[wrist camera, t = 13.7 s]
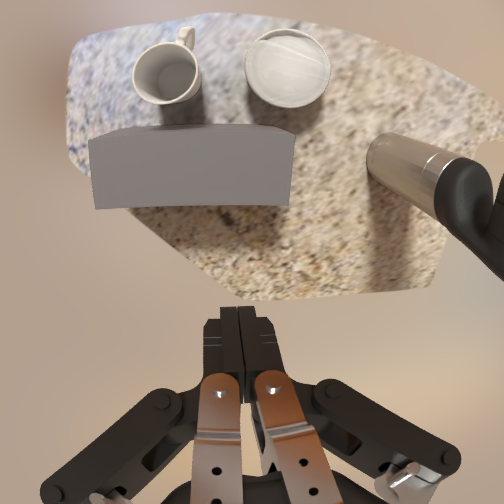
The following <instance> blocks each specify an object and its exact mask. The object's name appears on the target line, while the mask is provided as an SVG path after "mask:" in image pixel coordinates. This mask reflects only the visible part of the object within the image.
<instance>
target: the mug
mask: <svg viewBox="0 0 504 504" xmlns="http://www.w3.org/2000/svg"><path fill="white" fill-rule="evenodd" d="M194 43H195V30H194V28H193V27H191V26H188V27H185V28H181V29H180V31H179V34H178V38H177V40H176V41H175V43H173V42H166V43H160V44H157V45H154V46H152V47H151V48H149V49H147V50H146V51H145V52H144V53H143V54H142V55H141V56H140V57H139V58H138V60H137V61H136V63H135V65H134V68H133V73H132V82H133V86H134V88H135V90H136V92H137V94H138V95H139V96H140V97H141V98H142V99H144V100H145V101H147V102H149V103H152V104H158V105H163V104H171V103H180V102H184V101H186V100H188V99H190V98H192V97H193V96H194V95H195V94H196V93H197V91H198V90H199V88H200V85H201V74H200V70H199V66H198V63H197V60H196V58H195V56H194V54H193V53H192V51H193V49H194Z"/></svg>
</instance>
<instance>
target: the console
mask: <svg viewBox="0 0 504 504" xmlns="http://www.w3.org/2000/svg"><path fill="white" fill-rule="evenodd" d="M294 145H295V134H292V133H290V132H288V131H285V130H283V129H280V128H278V127H275V126H270V125H250V124H180V125H160V126H146V127H134V128H124V129H119V130H116V131H113V132H110V133H107V134H104V135H101V136H99V137H96V138H93V139H90V140H88V147H89V160H90V170H91V180H92V188H93V196H94V203H95V209H112V208H132V207H157V206H195V205H278V206H289V197H290V187H291V177H292V167H293V156H294Z"/></svg>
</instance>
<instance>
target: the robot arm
mask: <svg viewBox="0 0 504 504" xmlns="http://www.w3.org/2000/svg"><path fill="white" fill-rule="evenodd" d="M367 167H368V170H369V173H370V175H371V176H372V177H373V179H374V180H376V181H377V182H378V183H380V184H382V185H383V186H385V187H387V188H388V189H390V190H391V191H393V192H394V193H396V194H398V195H399V196H401V197H402V198H404V199H406V200H407V201H409V202H410V203H412V204H413V205H415V206H416V207H418V208H419V209H421V210H422V211H424V212H425V213H427V214H428V215H429V216H431V217H432V218H434V219H435V220H437V221H438V222H439V223H441V224H442V225H443V226H445V227H446V228H447V229H448V231H449V232H450V233H451V234H452V235H453V236H455V237H456V238H457V239H458V240H459V241H461V242H462V243H463V244H464V245H465V246H466V247H468V248H469V249H470V250H471V251H472V252H473V253H474V254H475V255H476V256H477V257H478V258H479V259H480V260H481V261H482V262H483V263H484V264H485V265H486V266H487V267H488V268H489V269H490V270H491V271H492V272H493V273H495V275H496V276H498V277H499V278H500V279H501V280H502V281H504V174H503V176H502V179H501V182H500V185H499V189H498V192H497V196H496V199H495V203H494V205H493V187H492V182H491V178H490V176H489V174H488V172H487V170H486V169H485V168H484V167H483V166H482V165H481V164H479V163H477V162H475V161H473V160H471V159H468V158H466V157H463V156H461V155H458V154H456V153H453V152H450V151H447V150H445V149H442V148H439V147H436V146H433V145H430V144H427V143H424V142H421V141H418V140H415V139H412V138H408V137H405V136H402V135H398V134H395V133H384V134H382V135H380V136H378V137H377V138H376V139H375V140H374V141H373V142H372V143H371V145H370V147H369V150H368V153H367ZM203 338H204V339H203V341H204V343H203V369H204V370H203V372H204V373H203V378H202V380H201V382H200V383H199V384H198V385H197V386H196V387H195V388H194V389H191V390H188V391H185V392H181V393H178V394H177V393H175V392H174V391H172V390H170V389H166V388H165V389H164V388H160V389H156V390H153V391H151V392H150V393H148V394H147V395H146V396H145V397H144V398H143V399H142V400H141V401H139V402H138V403H137V404H136V405H135V406H134V407H133V408H132V409H130V410H129V411H128V412H127V413H126V414H125V415H123V416H122V417H121V418H120V419H119V420H118V421H117V422H115V423H114V424H113V425H112V426H111V427H110V428H108V429H107V430H106V431H105V432H104V433H103V434H101V435H100V436H99V437H98V438H97V439H95V440H94V441H93V442H92V443H91V444H90V445H88V446H87V447H86V448H85V449H83V451H81V452H80V453H79V454H77V455H76V456H75V457H74V458H73V459H71V460H70V461H69V462H68V463H67V464H65V465H64V466H63V467H61V468H60V469H59V470H58V471H56V472H55V473H54V474H53V475H52V476H50V477H49V478H48V479H46V480H45V481H44V482H43V483H42V485H41V488H40V496H41V499H42V502H43V503H44V504H133V503H132V502H131V501H130V500H131V499H132V498H133V497H134V496H135V495H136V494H137V493H139V492H140V491H141V490H142V489H143V488H144V487H145V486H146V485H147V484H148V483H149V482H150V481H151V480H152V479H153V478H154V477H155V476H156V475H157V474H158V473H159V472H161V471H162V470H163V469H164V467H166V465H168V463H169V462H170V461H171V460H172V459H173V458H174V457H175V456H176V455H177V454H178V453H179V452H180V451H181V450H182V449H183V448H184V447H185V446H186V445H187V444H188V443H189V441H191V440H194V447H193V461H192V479H191V481H188V482H186V483H184V484H182V485H181V486H179V487H177V488H176V489H175V490H174V491H172V492H171V493H170V494H169V495H168V496H167V497H166V499H165V500H164V501H163V502H162V503H161V504H428V503H429V501H430V499H431V498H432V496H433V494H434V492H435V490H436V488H437V486H438V484H439V483H440V482H441V481H442V480H444V479H445V478H447V477H448V476H450V475H452V474H453V473H455V472H456V471H457V470H458V468H459V466H460V464H461V454H460V452H459V450H458V449H457V448H456V447H455V446H453V445H451V444H450V443H448V442H446V441H444V440H442V439H440V438H438V437H436V436H434V435H432V434H430V433H428V432H426V431H425V430H423V429H421V428H419V427H417V426H415V425H414V424H412V423H410V422H408V421H407V420H405V419H403V418H401V417H399V416H398V415H396V414H394V413H392V412H391V411H389V410H387V409H385V408H384V407H382V406H381V405H379V404H377V403H375V402H374V401H372V400H370V399H369V398H367V397H366V396H364V395H362V394H361V393H359V392H357V391H355V390H354V389H352V388H351V387H349V386H347V385H346V384H344V383H343V382H341V381H339V380H336V379H326V380H322V381H321V382H319V383H318V384H317V385H310V384H303V383H299V382H296V381H294V380H293V379H291V378H290V377H289V376H288V375H287V374H286V372H285V370H284V366H283V362H282V358H281V354H280V350H279V346H278V343H277V338H276V336H275V330H274V326H273V324H272V323H271V322H270V320H269V319H268V318H267V317H256V313H255V308H254V306H240V307H239V306H238V307H237V308H236V307H220V319H208V321H207V323H206V324H205V326H204V333H203ZM243 395H244V402H245V403H250V404H251V411H252V414H251V420H252V425H253V429H254V433H255V437H256V441H257V445H258V449H259V453H260V458H261V468H262V473H263V476H260V477H256V476H247V475H242V460H241V436H240V406H241V404H242V403H243ZM322 447H324V448H325V449H327V450H328V451H330V452H331V453H333V454H334V455H336V456H338V457H339V458H341V459H342V460H344V461H345V462H347V463H349V464H350V465H352V466H354V467H355V468H357V469H358V470H360V471H362V472H363V473H365V474H367V475H368V476H370V477H372V478H374V479H375V483H374V485H375V490H376V492H377V493H378V494H379V495H380V496H381V497H383V498H384V500H385V501H384V500H382V499H380V498H379V497H377V496H375V495H374V494H372V493H371V492H369V491H367V490H366V489H364V488H363V487H361V486H359V485H358V484H356V483H355V482H353V481H352V480H350V479H349V478H347V477H346V476H344V475H342V474H340V473H338V472H336V471H333V470H331V469H330V466H329V463H328V461H327V458H326V455H325V453H324V450H323V448H322Z"/></svg>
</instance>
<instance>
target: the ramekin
mask: <svg viewBox="0 0 504 504" xmlns="http://www.w3.org/2000/svg"><path fill="white" fill-rule="evenodd" d="M244 68H245V75H246V79H247V82H248V84H249V86H250V87H251V89H252V90H253V91H254V93H255V94H256V95H257V96H258V97H259V98H261V99H262V100H263V101H265V102H267V103H269V104H271V105H273V106H277V107H281V108H298V107H302V106H305V105H308V104H310V103H312V102H314V101H315V100H316V99H318V98H319V97H320V96H321V95H322V93H323V92H324V91H325V89H326V87H327V85H328V83H329V79H330V75H331V66H330V61H329V58H328V55H327V53H326V51H325V50H324V48H323V47H322V46H321V44H320V43H319V42H318V41H317V40H315V39H314V38H313V37H311V36H310V35H308V34H306V33H304V32H302V31H299V30H295V29H276V30H272V31H269V32H267V33H265V34H263V35H261V36H260V37H259V38H258V39H256V40H255V41H254V43H253V44H252V45H251V46H250V48H249V50H248V52H247V54H246V58H245V64H244Z"/></svg>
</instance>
